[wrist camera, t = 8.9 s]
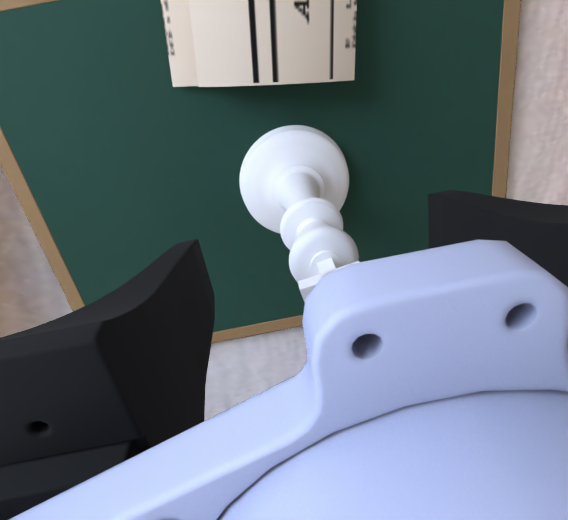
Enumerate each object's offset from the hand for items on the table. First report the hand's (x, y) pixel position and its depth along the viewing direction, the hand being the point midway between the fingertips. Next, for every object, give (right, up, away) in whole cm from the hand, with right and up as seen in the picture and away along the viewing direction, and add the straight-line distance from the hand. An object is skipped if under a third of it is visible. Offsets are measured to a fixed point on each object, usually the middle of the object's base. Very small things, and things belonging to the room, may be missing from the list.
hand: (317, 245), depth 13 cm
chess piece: (-1, +3, +6) cm, 7 cm away
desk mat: (-2, +4, +6) cm, 7 cm away
